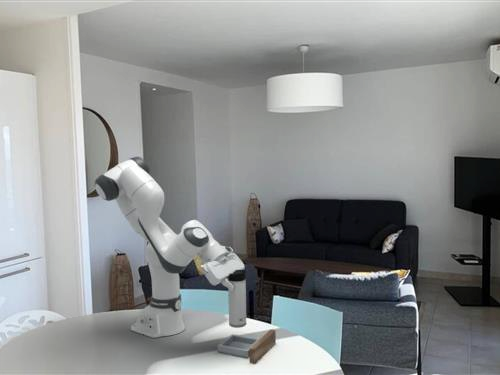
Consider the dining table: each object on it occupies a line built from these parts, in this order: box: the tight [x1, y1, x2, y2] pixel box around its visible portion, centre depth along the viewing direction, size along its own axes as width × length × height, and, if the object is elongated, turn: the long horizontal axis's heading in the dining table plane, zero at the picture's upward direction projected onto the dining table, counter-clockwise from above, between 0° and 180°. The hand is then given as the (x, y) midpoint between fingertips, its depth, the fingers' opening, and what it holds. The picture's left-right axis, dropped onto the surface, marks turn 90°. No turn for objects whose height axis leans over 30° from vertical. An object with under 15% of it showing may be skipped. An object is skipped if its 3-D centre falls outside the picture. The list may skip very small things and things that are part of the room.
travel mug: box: [227, 269, 247, 329], centre depth 159 cm, size 6×7×20 cm
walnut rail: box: [249, 329, 277, 365], centre depth 158 cm, size 2×18×5 cm, turn 154°
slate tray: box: [217, 333, 260, 359], centre depth 161 cm, size 12×11×3 cm
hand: (238, 286), depth 159 cm, fingers closed on travel mug, 6 cm apart
